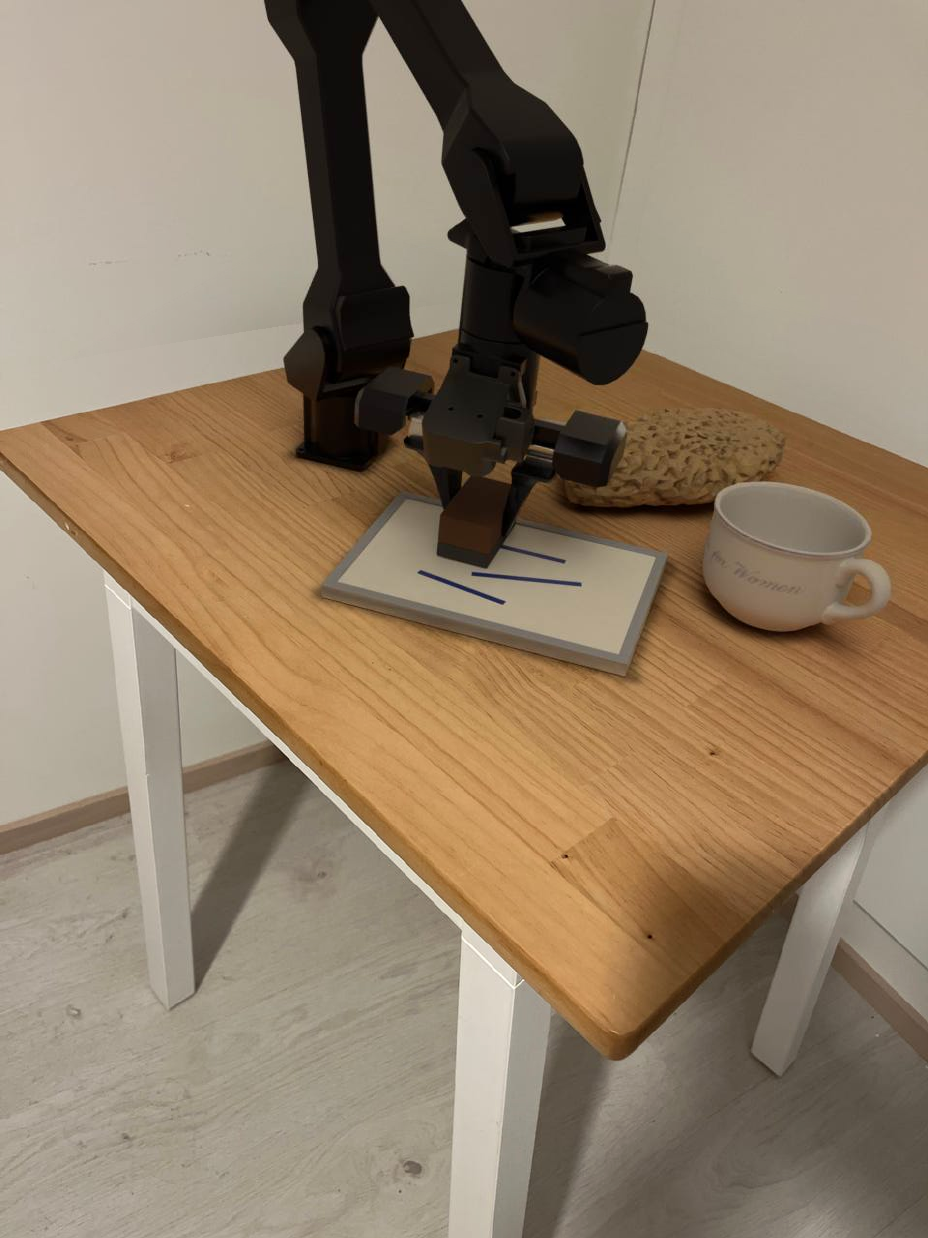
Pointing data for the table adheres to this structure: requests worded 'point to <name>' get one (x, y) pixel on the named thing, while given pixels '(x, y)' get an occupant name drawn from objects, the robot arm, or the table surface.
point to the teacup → (788, 557)
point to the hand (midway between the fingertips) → (477, 527)
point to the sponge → (686, 458)
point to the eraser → (474, 522)
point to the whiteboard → (506, 585)
